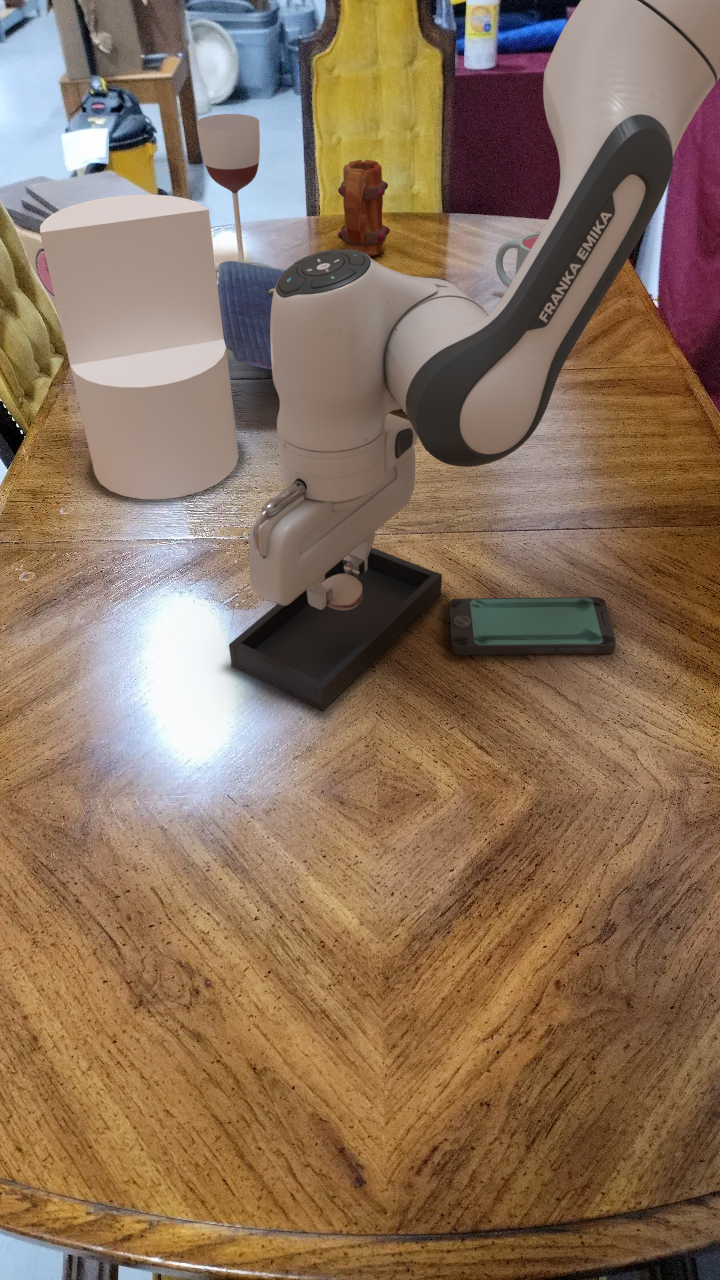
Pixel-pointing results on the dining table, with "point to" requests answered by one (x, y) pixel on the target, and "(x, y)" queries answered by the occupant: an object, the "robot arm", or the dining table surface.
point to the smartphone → (530, 626)
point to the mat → (247, 310)
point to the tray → (335, 631)
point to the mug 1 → (363, 207)
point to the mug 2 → (523, 249)
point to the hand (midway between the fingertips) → (338, 588)
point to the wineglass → (231, 156)
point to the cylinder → (145, 341)
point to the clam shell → (344, 591)
